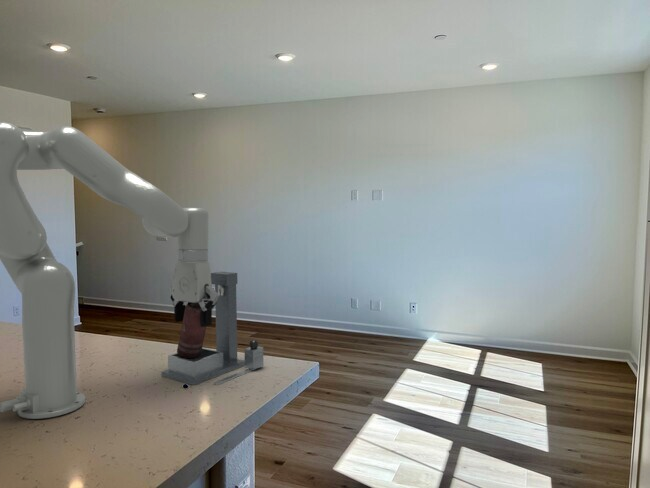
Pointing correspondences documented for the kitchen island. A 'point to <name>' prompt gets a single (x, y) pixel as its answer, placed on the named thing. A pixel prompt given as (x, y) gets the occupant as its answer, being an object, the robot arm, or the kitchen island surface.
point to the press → (226, 341)
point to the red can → (191, 333)
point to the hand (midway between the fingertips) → (192, 323)
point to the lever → (253, 355)
